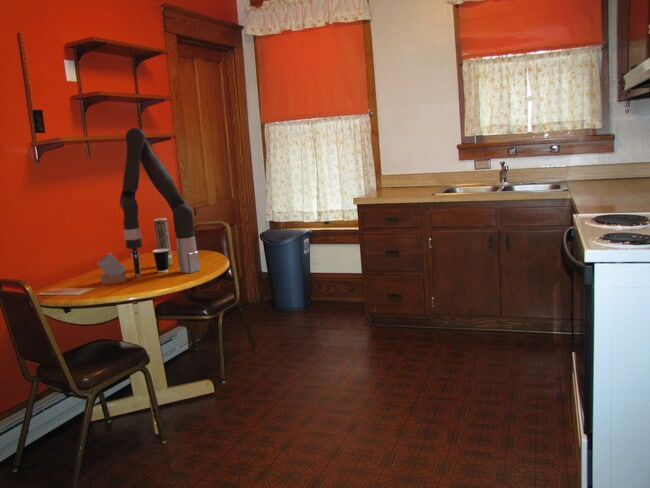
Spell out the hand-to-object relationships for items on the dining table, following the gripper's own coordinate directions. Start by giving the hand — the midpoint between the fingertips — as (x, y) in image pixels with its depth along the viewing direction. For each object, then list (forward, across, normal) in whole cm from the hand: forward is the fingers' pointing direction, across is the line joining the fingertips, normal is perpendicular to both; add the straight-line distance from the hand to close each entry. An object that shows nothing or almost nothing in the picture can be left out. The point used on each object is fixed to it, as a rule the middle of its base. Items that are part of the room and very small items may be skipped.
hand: (137, 272), depth 301 cm
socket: (+3, +1, -11) cm, 12 cm away
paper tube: (+3, -23, +15) cm, 28 cm away
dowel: (+3, 0, 0) cm, 3 cm away
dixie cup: (+3, -8, +12) cm, 15 cm away
